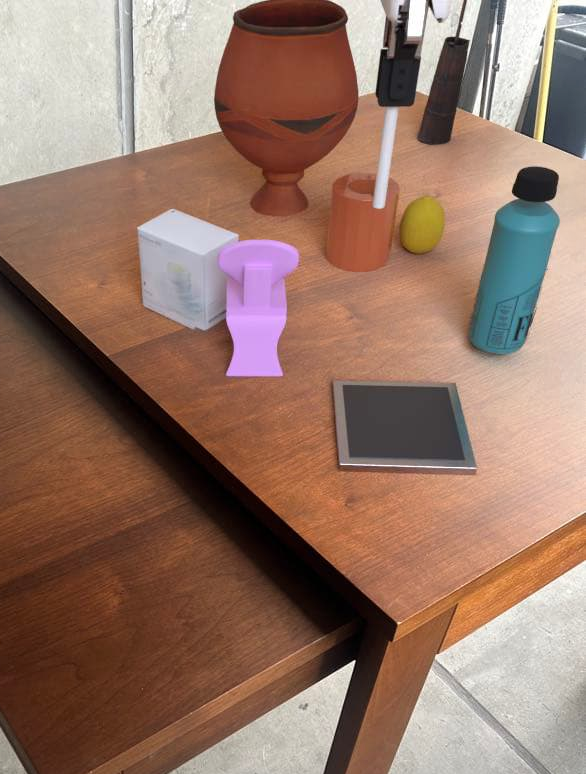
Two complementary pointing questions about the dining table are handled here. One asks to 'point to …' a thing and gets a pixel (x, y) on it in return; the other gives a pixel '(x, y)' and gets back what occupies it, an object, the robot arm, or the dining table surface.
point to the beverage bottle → (515, 263)
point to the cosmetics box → (184, 268)
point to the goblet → (286, 93)
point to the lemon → (422, 225)
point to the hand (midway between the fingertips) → (394, 100)
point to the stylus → (385, 156)
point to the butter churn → (445, 89)
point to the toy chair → (256, 302)
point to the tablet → (401, 428)
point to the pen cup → (360, 223)
